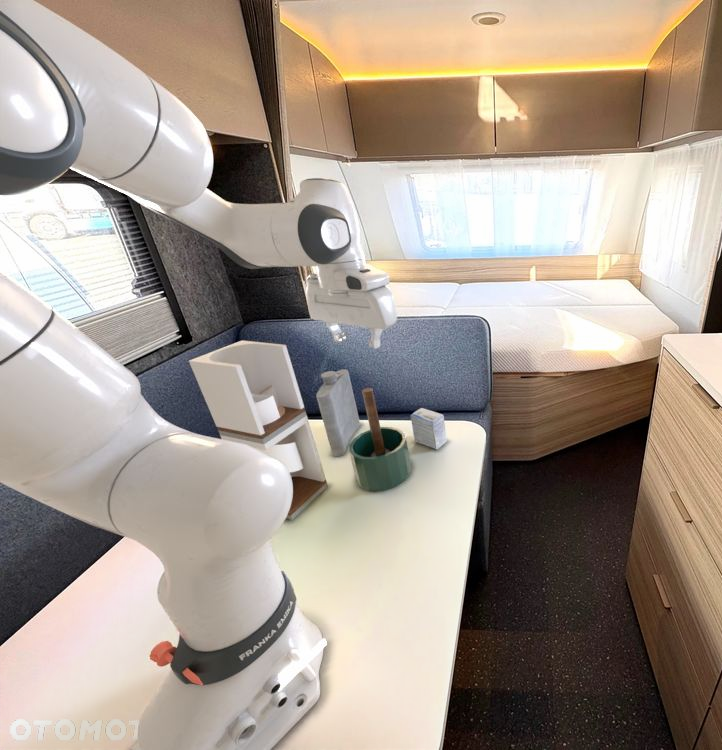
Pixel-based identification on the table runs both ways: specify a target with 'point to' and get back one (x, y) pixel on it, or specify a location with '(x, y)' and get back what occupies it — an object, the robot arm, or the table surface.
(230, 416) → the white storage rack
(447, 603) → the table surface
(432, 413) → the medicine box
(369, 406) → the wooden plunger stick
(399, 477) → the canister
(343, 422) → the hip flask
